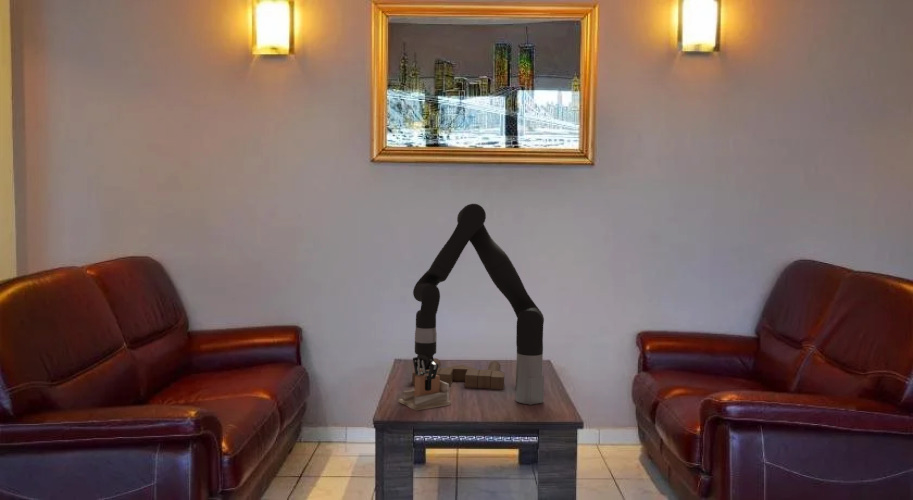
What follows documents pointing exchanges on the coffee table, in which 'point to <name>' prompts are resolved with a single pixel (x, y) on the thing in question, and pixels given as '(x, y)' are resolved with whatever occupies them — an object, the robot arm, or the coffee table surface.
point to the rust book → (421, 385)
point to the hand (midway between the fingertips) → (424, 388)
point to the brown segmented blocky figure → (470, 375)
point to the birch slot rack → (427, 398)
